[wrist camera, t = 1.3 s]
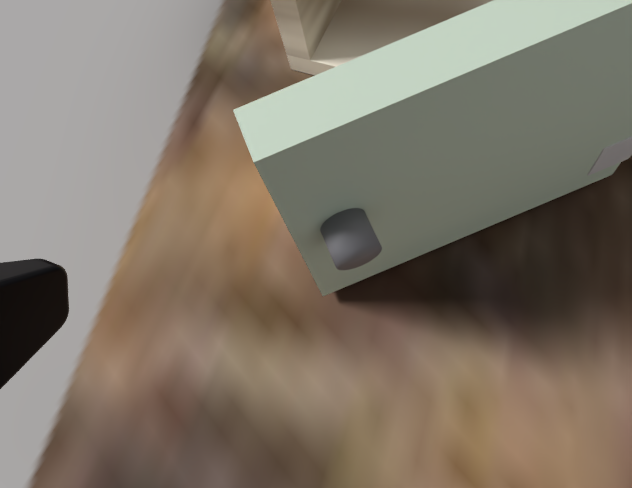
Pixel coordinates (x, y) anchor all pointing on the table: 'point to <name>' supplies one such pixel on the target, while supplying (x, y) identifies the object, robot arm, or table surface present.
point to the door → (445, 132)
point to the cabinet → (354, 27)
